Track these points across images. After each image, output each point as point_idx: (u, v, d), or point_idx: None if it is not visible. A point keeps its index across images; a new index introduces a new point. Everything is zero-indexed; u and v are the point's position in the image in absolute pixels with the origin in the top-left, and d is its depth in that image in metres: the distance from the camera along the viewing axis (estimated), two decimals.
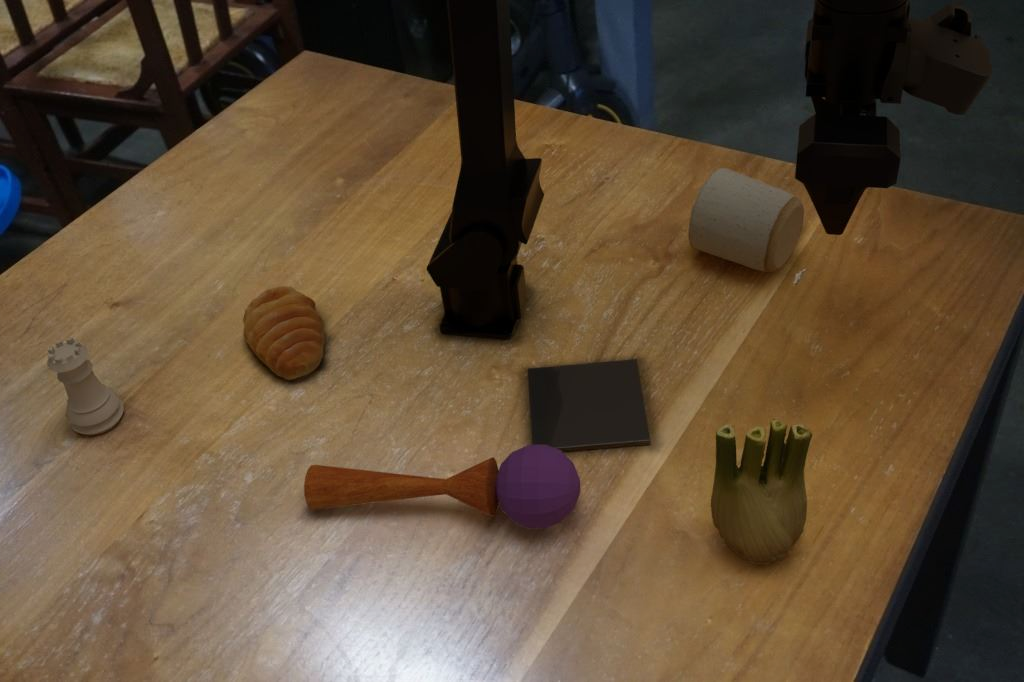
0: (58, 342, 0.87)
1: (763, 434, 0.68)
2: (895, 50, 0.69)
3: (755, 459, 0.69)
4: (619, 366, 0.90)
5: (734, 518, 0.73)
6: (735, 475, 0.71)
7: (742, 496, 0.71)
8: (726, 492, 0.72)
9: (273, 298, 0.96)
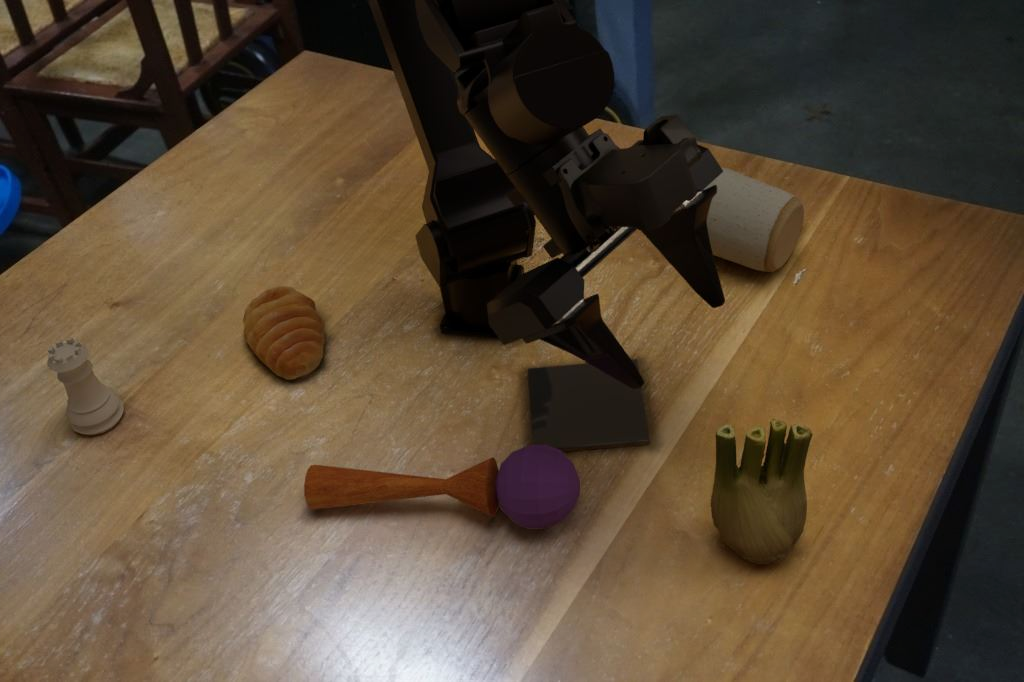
0: (58, 342, 0.87)
1: (763, 434, 0.68)
2: None
3: (755, 459, 0.69)
4: None
5: (734, 518, 0.73)
6: (735, 475, 0.71)
7: (742, 496, 0.71)
8: (726, 492, 0.72)
9: (273, 298, 0.96)
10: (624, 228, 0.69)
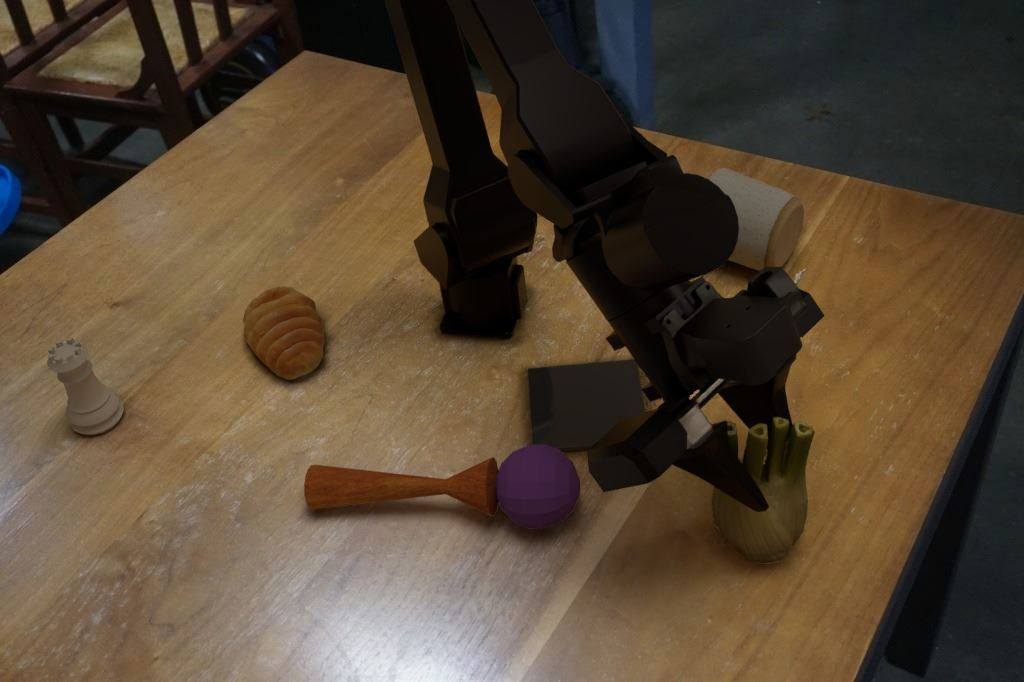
0: (58, 342, 0.87)
1: (765, 431, 0.68)
2: (665, 340, 0.67)
3: (757, 457, 0.69)
4: (619, 366, 0.90)
5: (735, 517, 0.73)
6: None
7: None
8: None
9: (273, 298, 0.96)
10: None
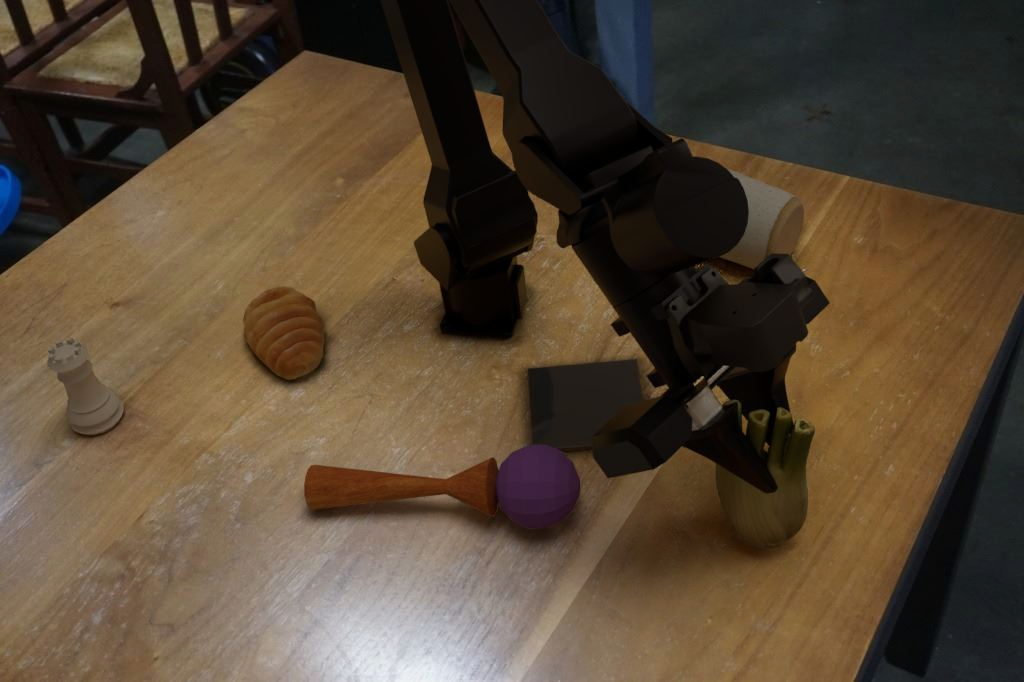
0: (58, 342, 0.87)
1: (765, 419, 0.68)
2: None
3: (754, 441, 0.69)
4: (619, 366, 0.90)
5: (730, 494, 0.73)
6: None
7: None
8: None
9: (273, 298, 0.96)
10: None
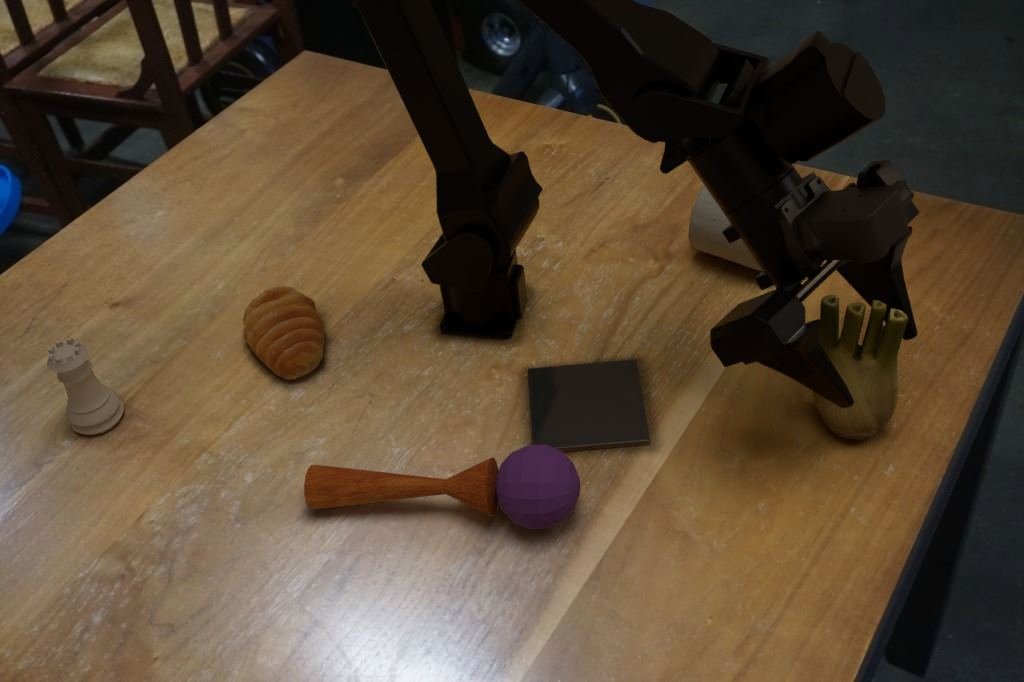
0: (58, 342, 0.87)
1: (862, 309, 0.76)
2: (782, 227, 0.74)
3: (851, 332, 0.77)
4: (619, 366, 0.90)
5: None
6: (832, 345, 0.78)
7: (836, 366, 0.79)
8: None
9: (273, 298, 0.96)
10: (835, 261, 0.76)
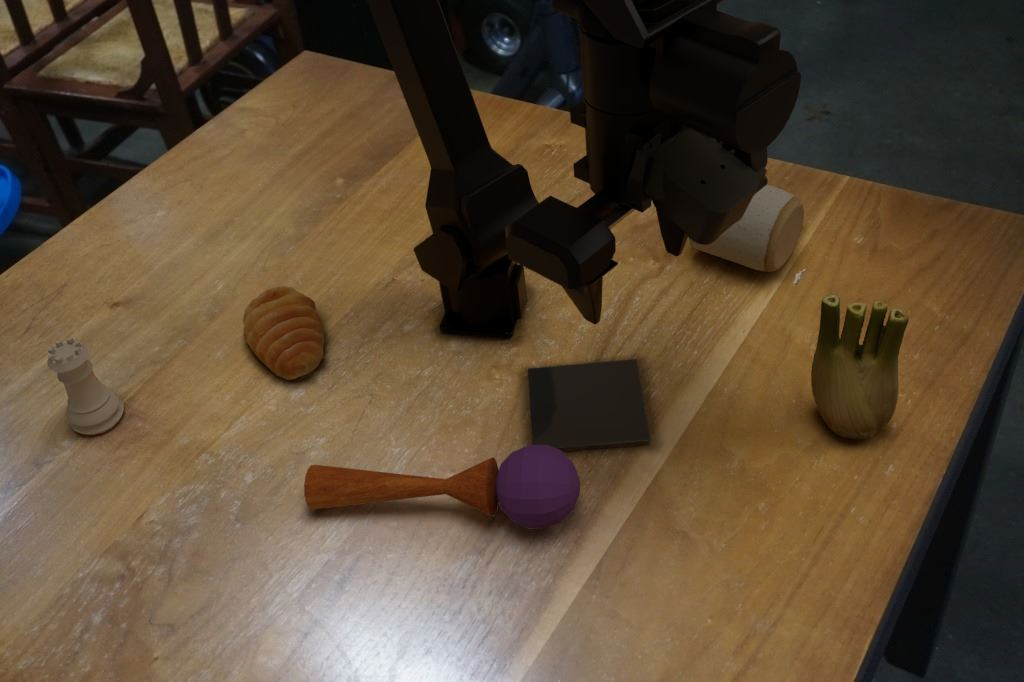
0: (58, 342, 0.87)
1: (863, 309, 0.76)
2: (636, 157, 0.66)
3: (852, 332, 0.77)
4: (619, 366, 0.90)
5: (826, 387, 0.81)
6: (833, 345, 0.78)
7: (836, 366, 0.79)
8: (823, 360, 0.80)
9: (273, 298, 0.96)
10: None
